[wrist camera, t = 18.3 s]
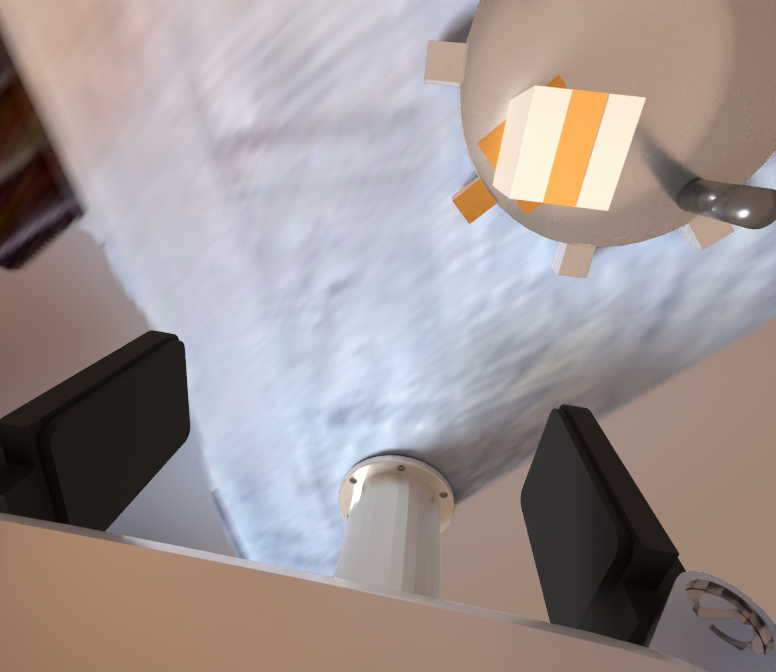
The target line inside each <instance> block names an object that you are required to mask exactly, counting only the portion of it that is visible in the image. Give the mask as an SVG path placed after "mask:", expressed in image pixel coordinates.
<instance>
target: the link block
mask: <svg viewBox="0 0 776 672" xmlns="http://www.w3.org/2000/svg"><path fill="white" fill-rule="evenodd" d="M645 99H646V98H645V97H636V96H627V95H618V94H609V93H602V92H593V91H584V90H575V89H573V90H572V89H563V88H554V87H545V86H536V85H535V86H533V87H532V88H530V89H528V90H527V91H525V92H523V93H521V94H520V95H518V96H516V97H515V98H513V99H511V100H510V104H509V109H508V114H507V118H506V123H505V128H504V133H503V138H502V142H501V147H500V152H499V157H498V162H497V166H496V171H495V176H494V181H493V186H494V187H495V188H496V189H498V190H499V191H500V192H501V193H503V194H504V195H505V196H507V197H508V198H509V199H517V200H525V201H533V202H541V203H548V204H556V205H564V206H572V207H581V208H589V209H597V210H605V211H608V209H609V206H610V203H611V200H612V197H613V194H614V192H615V189H616V186H617V183H618V180H619V177H620V174H621V171H622V168H623V165H624V162H625V159H626V156H627V153H628V150H629V147H630V144H631V141H632V138H633V135H634V132H635V129H636V126H637V123H638V120H639V117H640V114H641V111H642V108H643V105H644V102H645Z"/></svg>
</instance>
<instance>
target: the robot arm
mask: <svg viewBox="0 0 776 672" xmlns="http://www.w3.org/2000/svg"><path fill="white" fill-rule="evenodd" d="M189 432H190V417H189V402H188V388H187V373H186V359H185V347H184V344H183V342H182V341H179V339H178V337H177V336H176V335H175V334H170V333H165V332H159V331H153V330H151V331H148V332H146V333H145V334H143V335H142V336H140V337H138V338H136V339H135V340H133V341H132V342H130V343H128V344H126V345H124V346H123V347H121V348H120V349H118V350H116V351H115V352H113V353H111V354H110V355H108V356H106V357H104V358H103V359H101V360H99V361H98V362H96V363H94V364H92V365H91V366H89V367H87V368H85V369H84V370H82V371H80V372H79V373H77V374H75V375H74V376H72V377H70V378H69V379H67V380H65V381H64V382H62V383H60V384H58V385H57V386H55V387H53V388H52V389H50V390H48V391H47V392H45V393H43V394H41V395H40V396H38V397H37V398H35V399H33V400H31V401H30V402H28V403H26V404H24V405H23V406H21V407H19V408H18V409H16V410H14V411H13V412H11V413H9V414H8V415H6V416H4V417H3V418H1V419H0V672H776V625H775V624H774V622H773V621H772V620H771V619H770V617H769V616H768V615H767V614H766V612H765V611H764V610H763V609H762V608H760V607H759V606H758V605H757V604H756V603H755V602H754V601H753V600H752V599H751V598H750V597H748V596H747V595H746V594H744V593H743V592H741V591H740V590H738V589H737V588H736V587H734V586H733V585H731V584H729V583H727V582H725V581H724V580H722V579H720V578H718V577H715V576H713V575H710V574H707V573H704V572H698V571H687V572H686V570H685V569H684V567H683V565H682V564H681V562H680V561H679V559H678V556H679V553H678V551H677V549H676V548H675V546H674V545H673V543H672V542H671V540H670V538H669V537H668V535H667V533H666V532H665V530H664V529H663V527H662V525H661V524H660V522H659V521H658V519H657V518H656V516H655V514H654V513H653V511H652V509H651V508H650V506H649V504H648V503H647V501H646V500H645V498H644V496H643V495H642V493H641V492H640V490H639V489H638V487H637V486H636V484H635V482H634V481H633V479H632V477H631V476H630V474H629V472H628V471H627V469H626V468H625V466H624V464H623V463H622V461H621V460H620V458H619V457H618V455H617V453H616V452H615V450H614V448H613V447H612V445H611V444H610V442H609V440H608V439H607V437H606V435H605V434H604V432H603V431H602V429H601V427H600V426H599V424H598V423H597V421H596V419H595V418H594V416H593V415H592V413H591V411H590V410H589V409H587V408H582V407H576V406H571V405H565V404H563V405H561V407H560V408H559V409H553V410H552V411H551V413H550V416H549V418H548V421H547V424H546V426H545V429H544V432H543V434H542V437H541V440H540V443H539V445H538V448H537V451H536V453H535V456H534V459H533V462H532V464H531V467H530V470H529V472H528V475H527V478H526V480H525V483H524V486H523V489H522V492H521V507H522V512H523V516H524V520H525V524H526V527H527V532H528V535H529V539H530V543H531V548H532V552H533V556H534V560H535V564H536V568H537V572H538V575H539V580H540V583H541V588H542V592H543V596H544V599H545V603H546V608H547V612H548V616H549V620H550V623H547V622H543V621H539V620H534V619H530V618H525V617H521V616H517V615H512V614H508V613H503V612H499V611H494V610H489V609H484V608H479V607H475V606H470V605H465V604H460V603H455V602H451V601H445V600H441V599H440V534H441V533H442V532H443V531H444V530H446V528H447V527H448V526H449V524H450V523H451V520H452V518H453V515H454V507H455V506H454V496H453V492H452V489H451V487H450V485H449V483H448V482H447V480H446V479H445V478H444V477H443V476H442V475H441V474H440V473H439V472H438V471H437V470H435V469H434V468H433V467H431V466H429V465H428V464H426V463H424V462H422V461H419V460H416V459H413V458H409V457H404V456H396V455H386V456H377V457H373V458H370V459H366V460H364V461H362V462H360V463H358V464H357V465H355V466H354V467H353V468H351V469H350V470H349V472H348V473H347V474H346V475H345V477H344V479H343V481H342V483H341V487H340V490H339V498H338V501H339V506H340V510H341V512H342V514H343V516H344V518H345V519H346V520H347V523H346V528H345V532H344V536H343V540H342V544H341V549H340V553H339V557H338V561H337V566H336V570H335V574H334V577H330V576H325V575H320V574H315V573H310V572H305V571H300V570H295V569H290V568H285V567H280V566H275V565H270V564H265V563H260V562H255V561H250V560H245V559H240V558H235V557H230V556H225V555H220V554H215V553H210V552H205V551H200V550H195V549H190V548H185V547H180V546H175V545H169V544H165V543H159V542H154V541H149V540H144V539H138V538H134V537H129V536H124V535H118V534H113V533H108V532H105V531H106V530H107V529H108V527H109V526H110V525H111V524H112V523H113V522H114V521H115V520H116V519H117V517H118V516H119V515H120V514H121V513H122V512H123V511H124V510H125V508H126V507H127V506H128V505H129V504H130V503H131V502H132V501H133V500H134V498H135V497H136V496H137V495H138V494H139V493H140V492H141V491H142V489H143V488H144V487H145V486H146V485H147V484H148V483H149V482H150V481H151V479H152V478H153V477H154V476H155V475H156V474H157V473H158V472H159V470H160V469H161V468H162V467H163V466H164V465H165V464H166V463H167V461H168V460H169V459H170V458H171V457H172V456H173V455H174V454H175V453H176V451H177V450H178V449H179V448H180V447H181V446H182V445H183V444H184V442H185V441H186V440H187V438H188V436H189Z"/></svg>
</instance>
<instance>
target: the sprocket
mask: <svg viewBox="0 0 776 672" xmlns="http://www.w3.org/2000/svg"><path fill="white" fill-rule="evenodd" d="M424 81H425V84H434V85H445V86H456V87H459V115H460V122H461V129H462V136H463V139H464V143H465V146H466V150H467V154H468V156H469V159H470V161H471V163H472V166H473V168H474V170H475V173H476V174H477V177H476V178H475V179H474V180H473V181H471V182H470V183H469V184H468V185H466V186H465V187H464V188H463V189H461V190H460V191H459V192H458V193H456V194H455V195H454V196H453V197H452V200H453V202H454V203H455V205H456V206H457V208H458V209H459V210H460V212H461V213H462V214H463V216H464V217H465V218H466V220H467V221H468V223H469V224H470V223H471V222H473V221H474V220H475V219H477V218H478V217H479V216H481V215H482V214H483V213H485V212H486V211H487V210H488V209H490V208H491V207H492V206H494V205H495V204H496V203H497V204H498V205H499V206H500V207H501V208H502V209H504V210H505V211H506V212H507V213H508V214H509V215H510V216H511V217H512V218H513V219H515V220H516V221H518V222H519V223H520V224H522V225H523V226H525V227H526V228H528V229H529V230H531V231H533V232H536V233H538V234H540V235H542V236H544V237H546V238H549V239H552V240H555V241H558V244H557V248H556V251H555V255H554V259H553V262H552V266H551V268H552V269H553V270H554V271H555V272H556V273H557V274H558V275H564V276H573V277H581V278H587V274H588V271H589V268H590V265H591V262H592V259H593V256H594V252H595V249H596V247H610V246H622V245H627V244H632V243H637V242H642V241H645V240H648V239H652V238H655V237H658V236H661V235H664V234H666V233H669V232H671V231H673V230H675V229H679V231H680V233H681V234H682V236H683V238H684V240H685V242H686V243H687V244H689V245H692V246H694V247H697V248H699V249H702V250H703V249H705V248H707V247H709V246H710V245H712V244H714V243H715V242H717V241H719V240H720V239H722V238H724V237H725V236H727V235H729V234H730V233H732V232H734V230H733V228H732V226H731V224H734V225H738V226H741V227H745V228H748V229H760V228H763V227H766V226H768V225H770V224H771V223H772V222H774V221H775V220H776V190H774V189H767V188H760V187H753V186H746V185H743V184H745V183H746V182H747V180H748V179H749V178H750V177H751V176H752V175H753V174H754V173H755V172H756V171H757V170H758V169H759V168H760V167H761V166H762V165H763V164H764V163H765V162H766V160H767V159H768V158H769V157H770V156H771V154H772V153H773V152H774V151H775V149H776V0H480V3H479V5H478V7H477V10H476V12H475V16H474V19H473V22H472V25H471V28H470V32H469V35H468V38H467V41H466V43H456V42H444V41H433V40H429V41H428V50H427V59H426V68H425V77H424ZM535 85H536V86H545V87H554V88H563V89H572V90H573V89H575V90H584V91H593V92H602V93H609V94H618V95H627V96H636V97H645V98H646V99H645V102H644V105H643V108H642V111H641V114H640V117H639V120H638V123H637V126H636V129H635V132H634V135H633V138H632V141H631V144H630V147H629V150H628V153H627V156H626V159H625V162H624V165H623V168H622V171H621V174H620V177H619V180H618V183H617V186H616V189H615V192H614V194H613V197H612V200H611V203H610V206H609V209H608V211H605V210H597V209H589V208H581V207H572V206H564V205H556V204H548V203H541V202H533V201H525V200H517V199H509V198H508V197H507V196H505V195H504V194H503V193H501V192H500V191H499V190H498V189H496V188H495V187H494V186H493V181H494V176H495V171H496V166H497V162H498V157H499V152H500V147H501V142H502V138H503V133H504V128H505V123H506V118H507V114H508V109H509V104H510V100H511V99H513V98H515V97H516V96H518V95H520V94H521V93H523V92H525V91H527V90H528V89H530V88H532V87H533V86H535Z"/></svg>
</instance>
